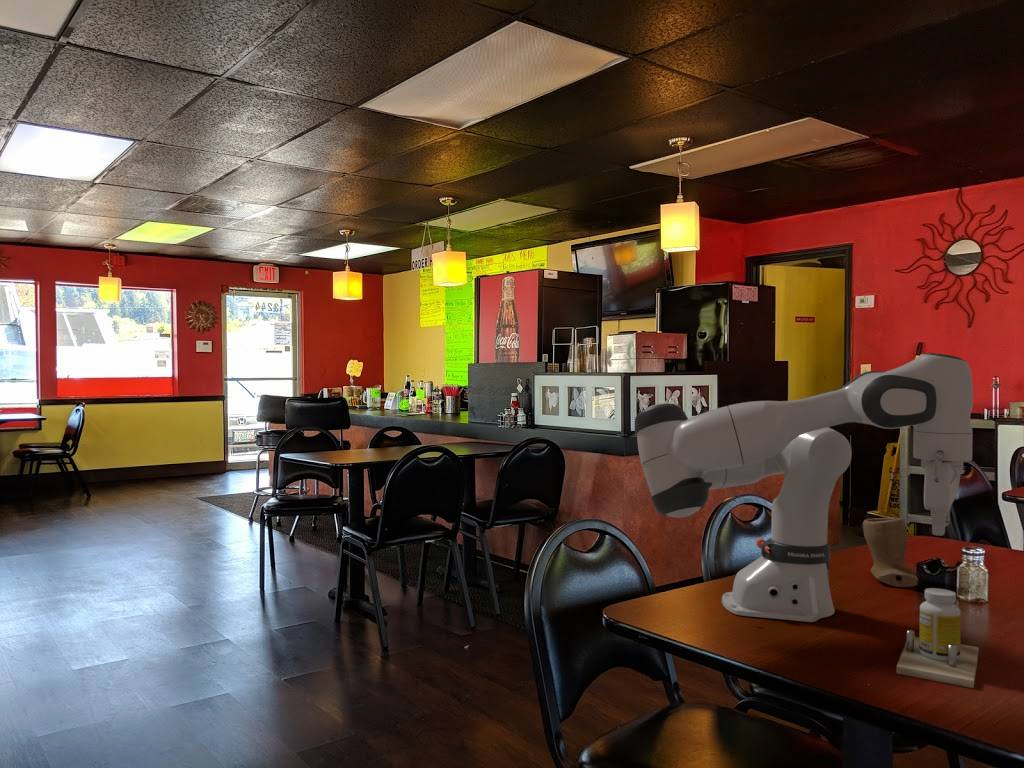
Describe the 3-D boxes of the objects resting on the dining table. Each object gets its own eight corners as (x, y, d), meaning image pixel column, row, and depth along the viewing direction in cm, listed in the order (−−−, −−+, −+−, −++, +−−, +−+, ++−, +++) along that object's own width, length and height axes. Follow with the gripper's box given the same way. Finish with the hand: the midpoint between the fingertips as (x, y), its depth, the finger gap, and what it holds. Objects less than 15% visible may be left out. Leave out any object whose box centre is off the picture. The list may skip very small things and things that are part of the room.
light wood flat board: (973, 688, 124) (973, 680, 124) (896, 673, 130) (896, 665, 130) (978, 654, 139) (978, 646, 139) (909, 642, 145) (909, 635, 145)
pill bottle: (964, 655, 134) (965, 591, 134) (955, 665, 130) (956, 599, 130) (924, 646, 139) (925, 584, 138) (914, 656, 134) (915, 591, 134)
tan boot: (859, 570, 197) (860, 511, 197) (912, 575, 193) (913, 514, 193) (866, 586, 182) (867, 522, 182) (923, 591, 179) (924, 525, 178)
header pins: (956, 668, 129) (956, 646, 129) (903, 658, 133) (903, 637, 133) (959, 652, 136) (959, 632, 136) (909, 643, 141) (909, 623, 141)
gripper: (959, 455, 123) (958, 543, 123) (967, 445, 140) (965, 522, 140) (914, 453, 126) (913, 538, 127) (927, 443, 144) (926, 518, 144)
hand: (940, 529), depth 134 cm, fingers open, 8 cm apart
